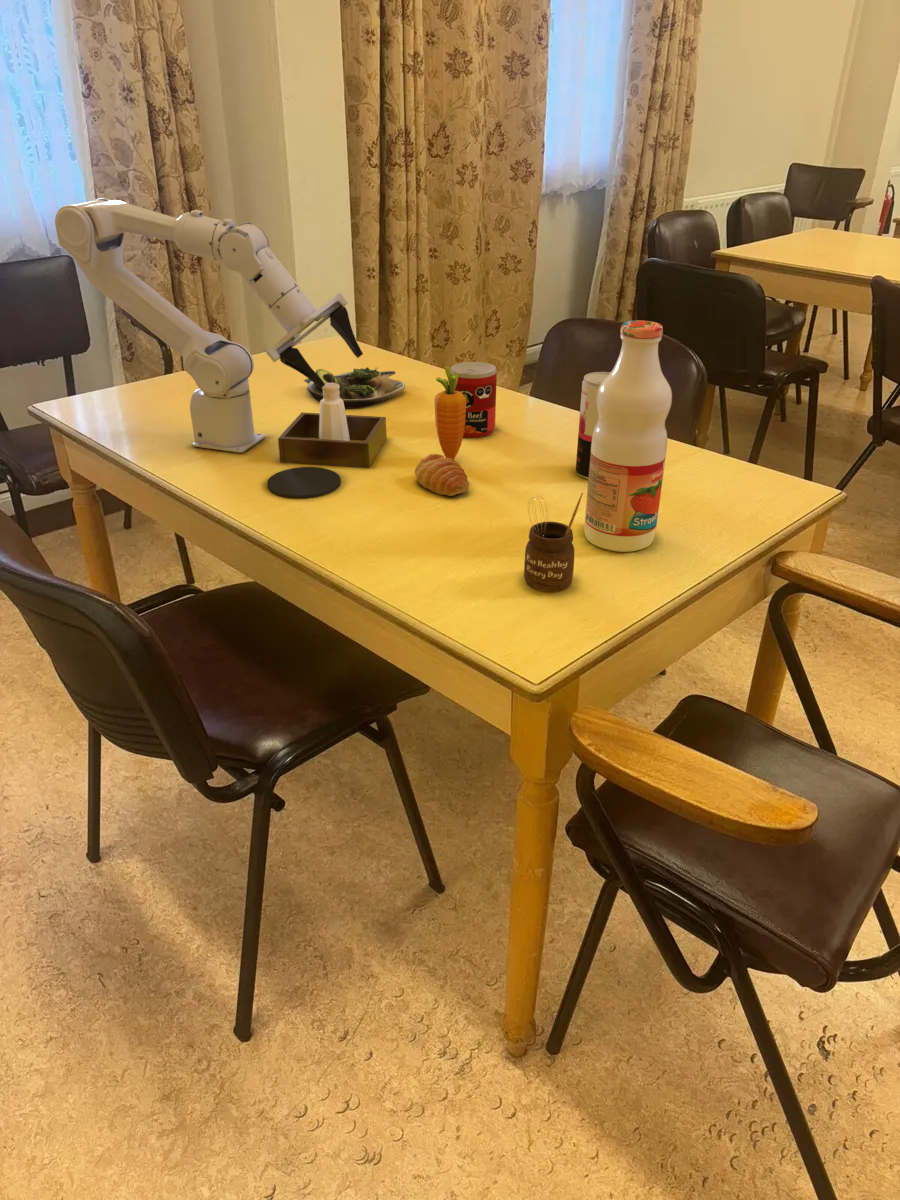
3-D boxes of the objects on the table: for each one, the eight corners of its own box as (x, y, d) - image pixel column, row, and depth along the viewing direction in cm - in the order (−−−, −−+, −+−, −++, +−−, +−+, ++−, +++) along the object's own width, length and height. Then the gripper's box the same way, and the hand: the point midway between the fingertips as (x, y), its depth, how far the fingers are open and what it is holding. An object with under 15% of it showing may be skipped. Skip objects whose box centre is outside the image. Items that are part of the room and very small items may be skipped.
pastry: (480, 492, 132) (480, 468, 130) (441, 502, 129) (441, 478, 127) (447, 471, 139) (447, 448, 137) (409, 480, 136) (409, 457, 134)
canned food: (443, 435, 153) (443, 371, 148) (460, 420, 160) (461, 359, 154) (485, 441, 151) (486, 376, 145) (501, 426, 157) (503, 364, 152)
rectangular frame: (280, 462, 142) (277, 438, 140) (303, 434, 153) (301, 412, 151) (369, 467, 140) (368, 443, 138) (386, 439, 151) (385, 416, 149)
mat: (253, 492, 132) (253, 489, 132) (288, 466, 141) (288, 463, 141) (321, 502, 129) (321, 499, 129) (352, 474, 138) (352, 471, 138)
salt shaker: (337, 442, 150) (333, 377, 145) (358, 450, 147) (354, 384, 141) (311, 450, 147) (306, 384, 141) (332, 459, 144) (327, 392, 138)
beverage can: (571, 478, 137) (578, 382, 129) (580, 463, 142) (588, 369, 135) (613, 484, 135) (623, 386, 127) (621, 468, 140) (631, 374, 133)
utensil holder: (528, 567, 112) (533, 478, 106) (578, 574, 111) (586, 484, 105) (518, 589, 107) (522, 498, 101) (570, 597, 106) (577, 505, 100)
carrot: (462, 469, 140) (463, 374, 132) (431, 466, 141) (430, 372, 133) (468, 457, 144) (469, 365, 137) (438, 455, 145) (437, 363, 138)
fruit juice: (592, 517, 125) (611, 312, 111) (660, 528, 122) (688, 319, 108) (575, 546, 117) (593, 330, 103) (647, 558, 114) (676, 337, 100)
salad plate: (369, 371, 185) (368, 349, 183) (427, 391, 174) (427, 367, 172) (292, 391, 174) (290, 368, 171) (349, 413, 163) (348, 388, 160)
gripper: (248, 322, 130) (308, 398, 134) (324, 262, 132) (382, 338, 136) (245, 330, 137) (303, 402, 141) (318, 273, 139) (373, 345, 142)
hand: (341, 371), depth 139 cm, fingers open, 7 cm apart
